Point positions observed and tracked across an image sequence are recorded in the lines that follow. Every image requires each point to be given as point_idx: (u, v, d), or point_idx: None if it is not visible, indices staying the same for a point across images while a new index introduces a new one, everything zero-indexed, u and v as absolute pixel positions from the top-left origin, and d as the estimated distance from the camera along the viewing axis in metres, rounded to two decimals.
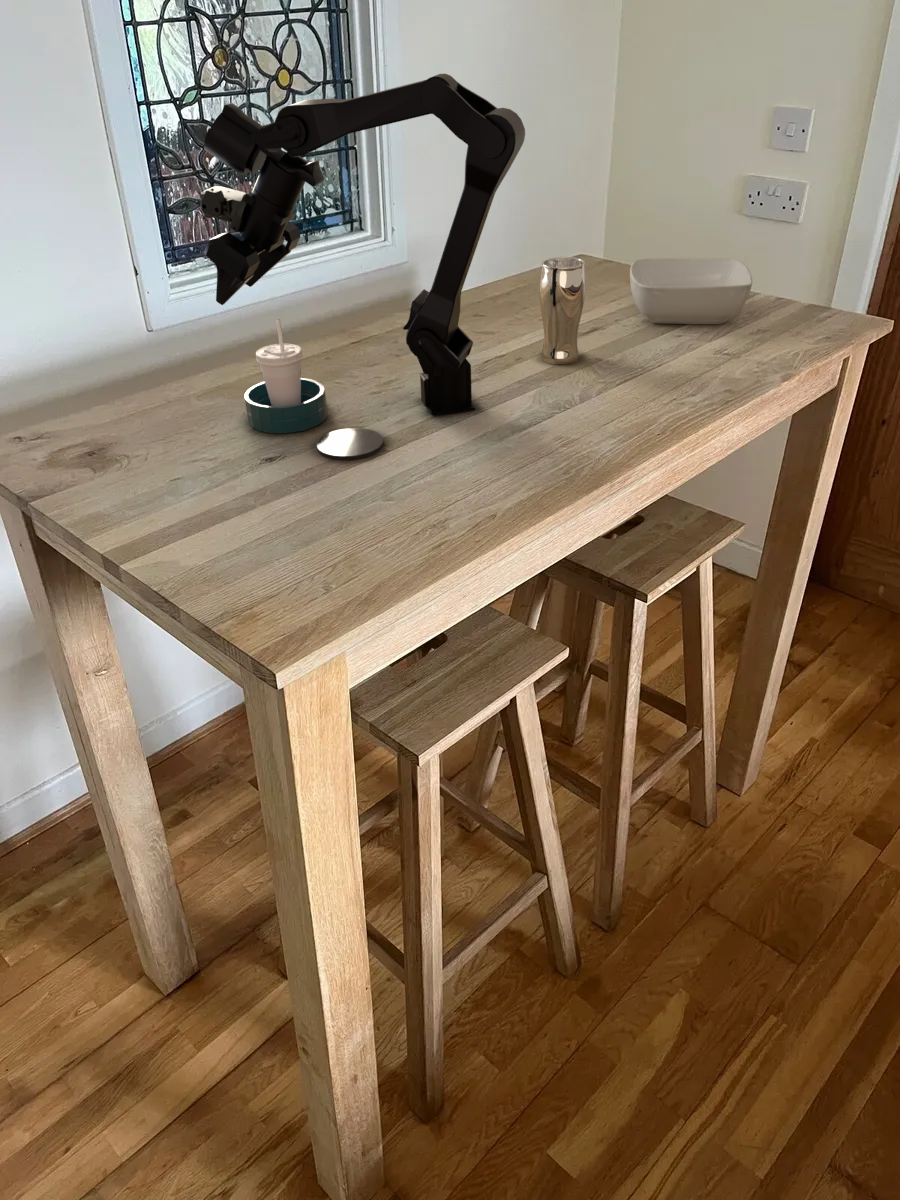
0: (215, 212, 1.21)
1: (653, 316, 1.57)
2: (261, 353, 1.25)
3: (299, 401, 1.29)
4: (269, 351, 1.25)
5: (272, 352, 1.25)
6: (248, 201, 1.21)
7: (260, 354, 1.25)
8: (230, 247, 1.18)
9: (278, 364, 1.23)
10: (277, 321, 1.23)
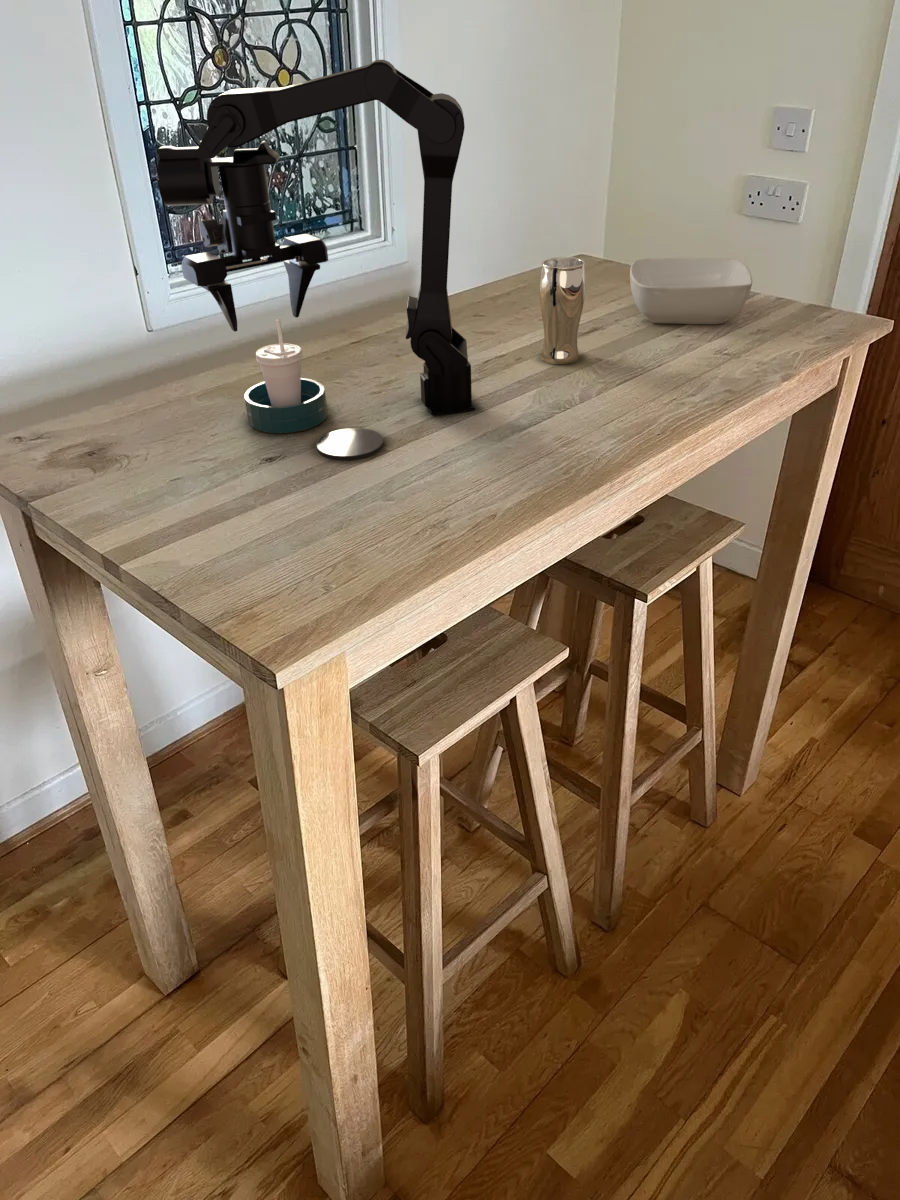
0: (208, 240, 1.21)
1: (653, 316, 1.57)
2: (261, 353, 1.25)
3: (299, 401, 1.29)
4: (269, 351, 1.25)
5: (272, 352, 1.25)
6: (225, 216, 1.18)
7: (260, 354, 1.25)
8: (190, 259, 1.16)
9: (278, 364, 1.23)
10: (277, 321, 1.23)
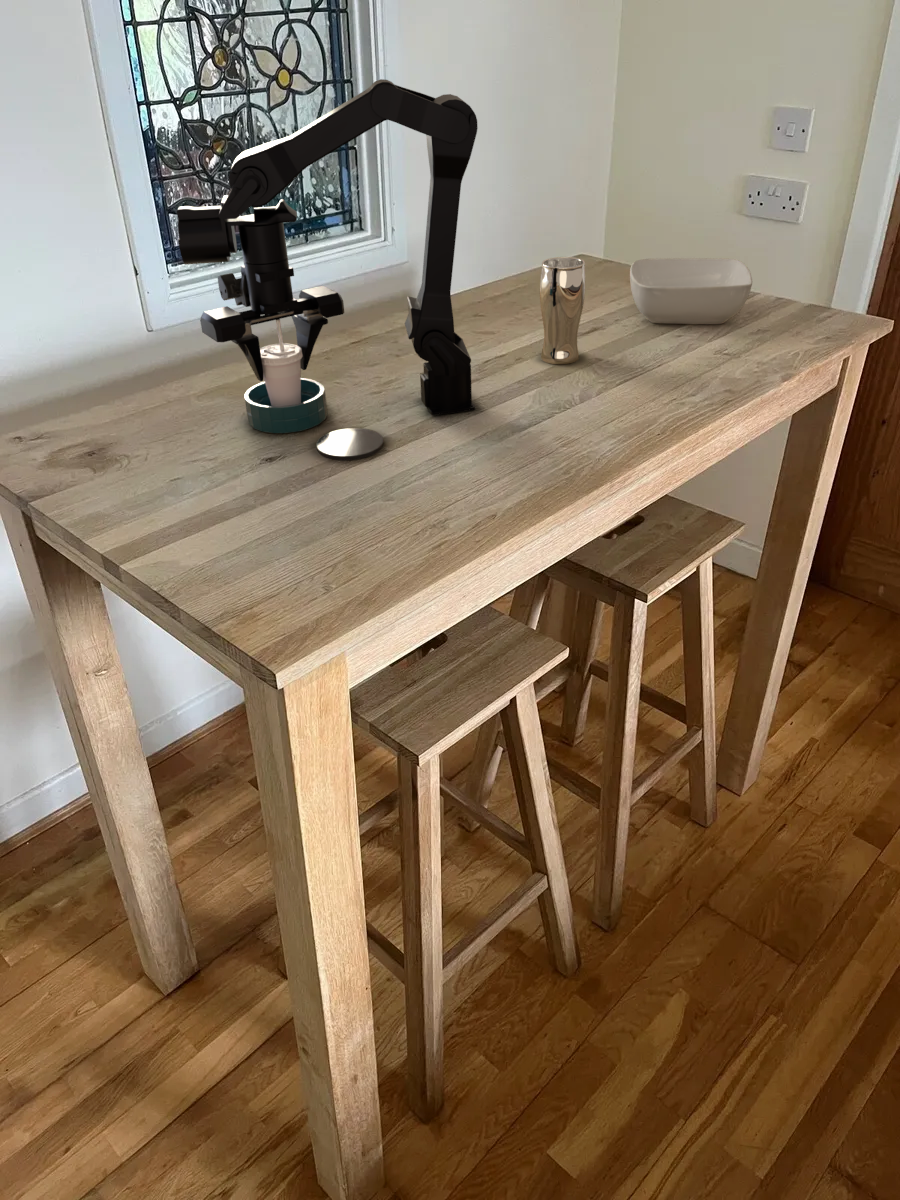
0: (226, 294, 1.23)
1: (653, 316, 1.57)
2: (261, 353, 1.25)
3: (299, 401, 1.29)
4: (269, 351, 1.25)
5: (272, 352, 1.25)
6: (243, 272, 1.20)
7: None
8: (209, 315, 1.18)
9: (278, 364, 1.23)
10: (277, 321, 1.23)
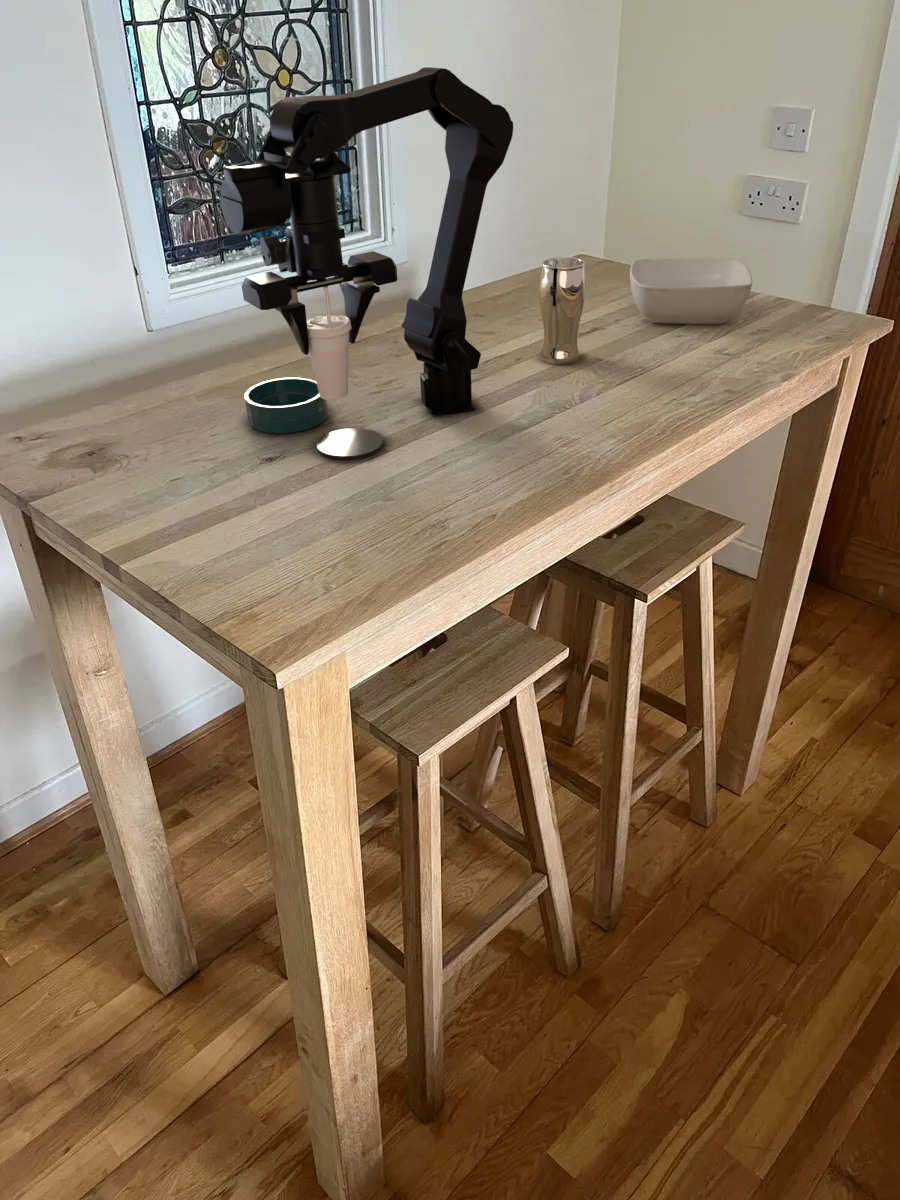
0: (269, 258, 1.12)
1: (653, 316, 1.57)
2: None
3: (346, 377, 1.18)
4: (315, 322, 1.15)
5: (318, 323, 1.14)
6: (289, 234, 1.09)
7: None
8: (252, 280, 1.07)
9: (325, 336, 1.13)
10: (325, 288, 1.12)
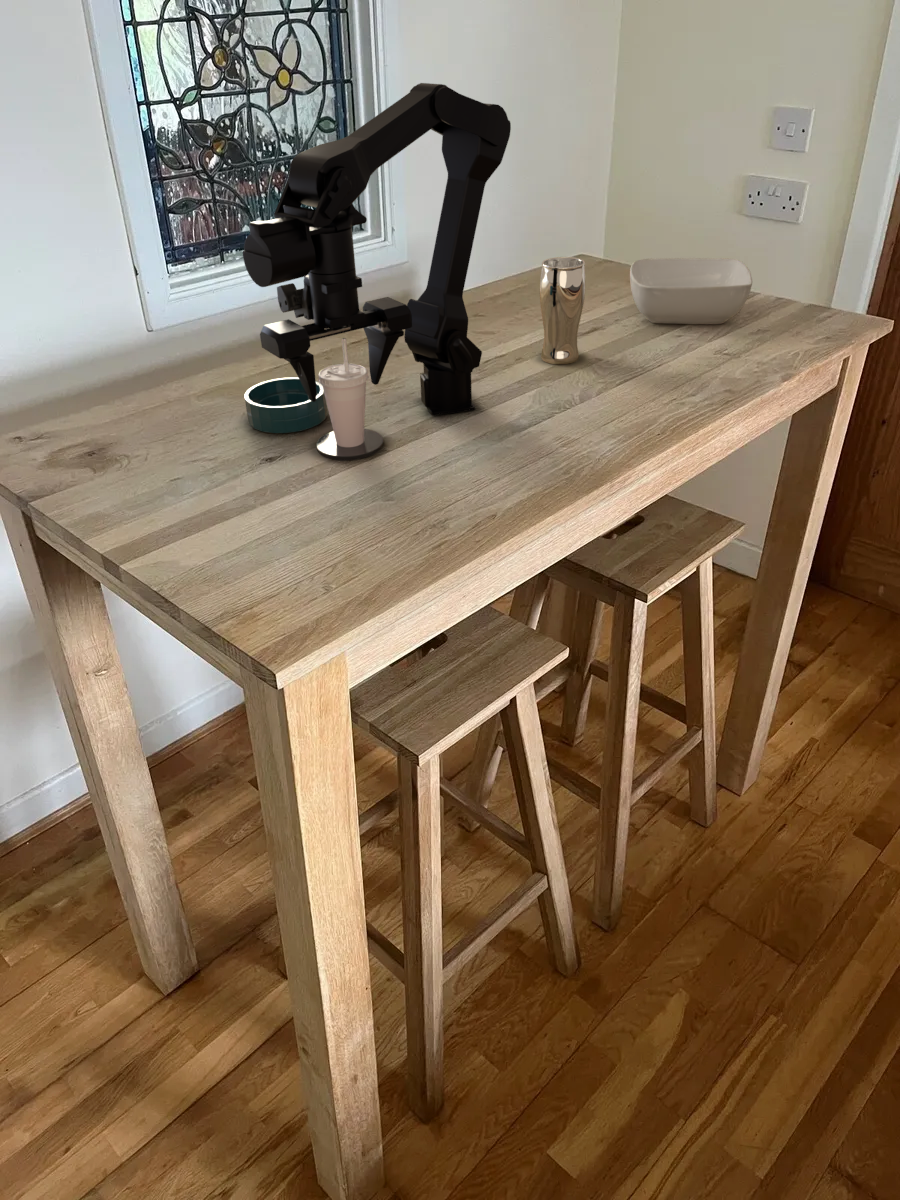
0: (286, 306, 1.14)
1: (653, 316, 1.57)
2: (324, 374, 1.16)
3: (363, 425, 1.20)
4: (333, 372, 1.17)
5: (336, 373, 1.16)
6: (307, 282, 1.11)
7: (323, 375, 1.16)
8: (271, 329, 1.09)
9: (343, 387, 1.15)
10: (343, 340, 1.14)
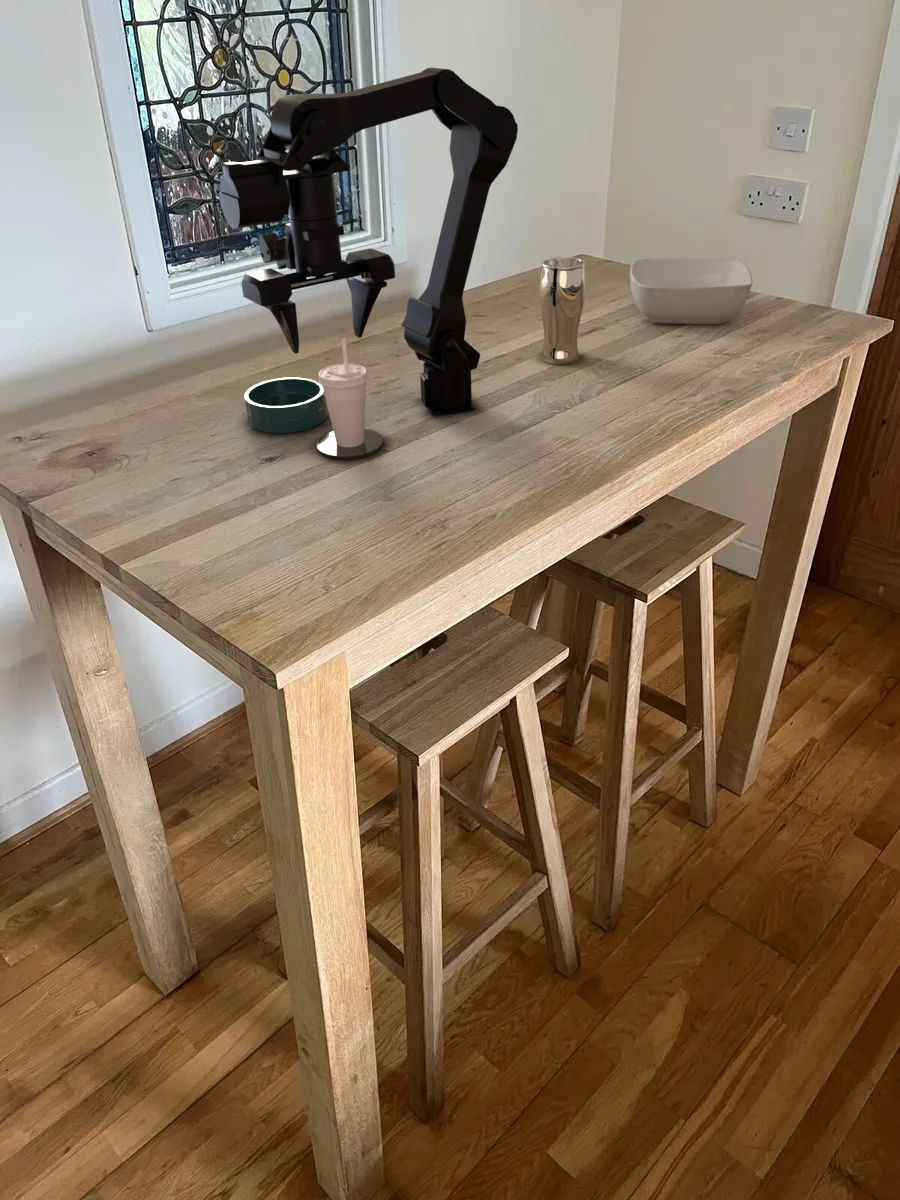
0: (268, 255, 1.13)
1: (653, 316, 1.57)
2: (324, 374, 1.16)
3: (363, 425, 1.20)
4: (333, 372, 1.17)
5: (336, 373, 1.16)
6: (288, 231, 1.10)
7: (323, 375, 1.16)
8: (252, 277, 1.08)
9: (343, 387, 1.15)
10: (343, 340, 1.14)
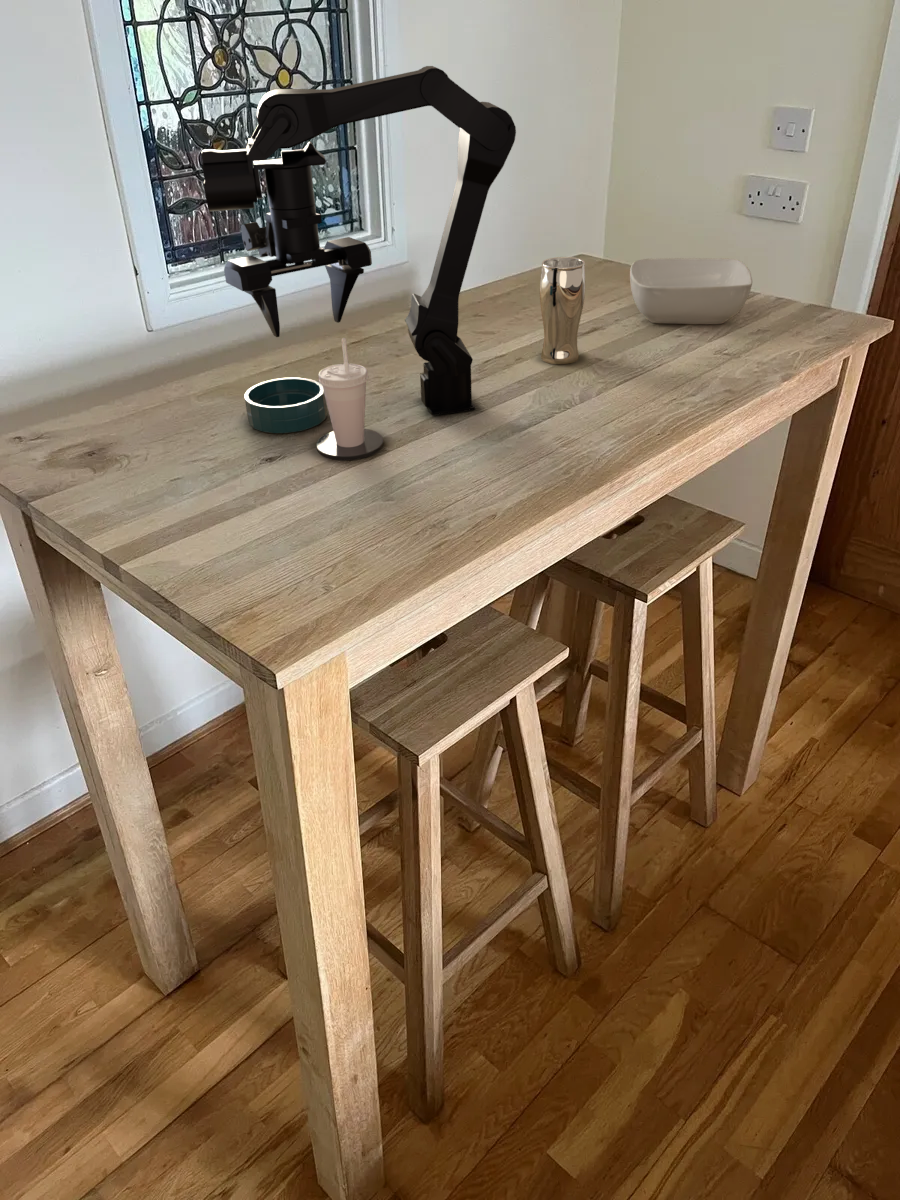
0: (250, 243, 1.18)
1: (653, 316, 1.57)
2: (324, 374, 1.16)
3: (363, 425, 1.20)
4: (333, 372, 1.17)
5: (336, 373, 1.16)
6: (269, 220, 1.16)
7: (323, 375, 1.16)
8: (234, 263, 1.13)
9: (343, 387, 1.15)
10: (343, 340, 1.14)
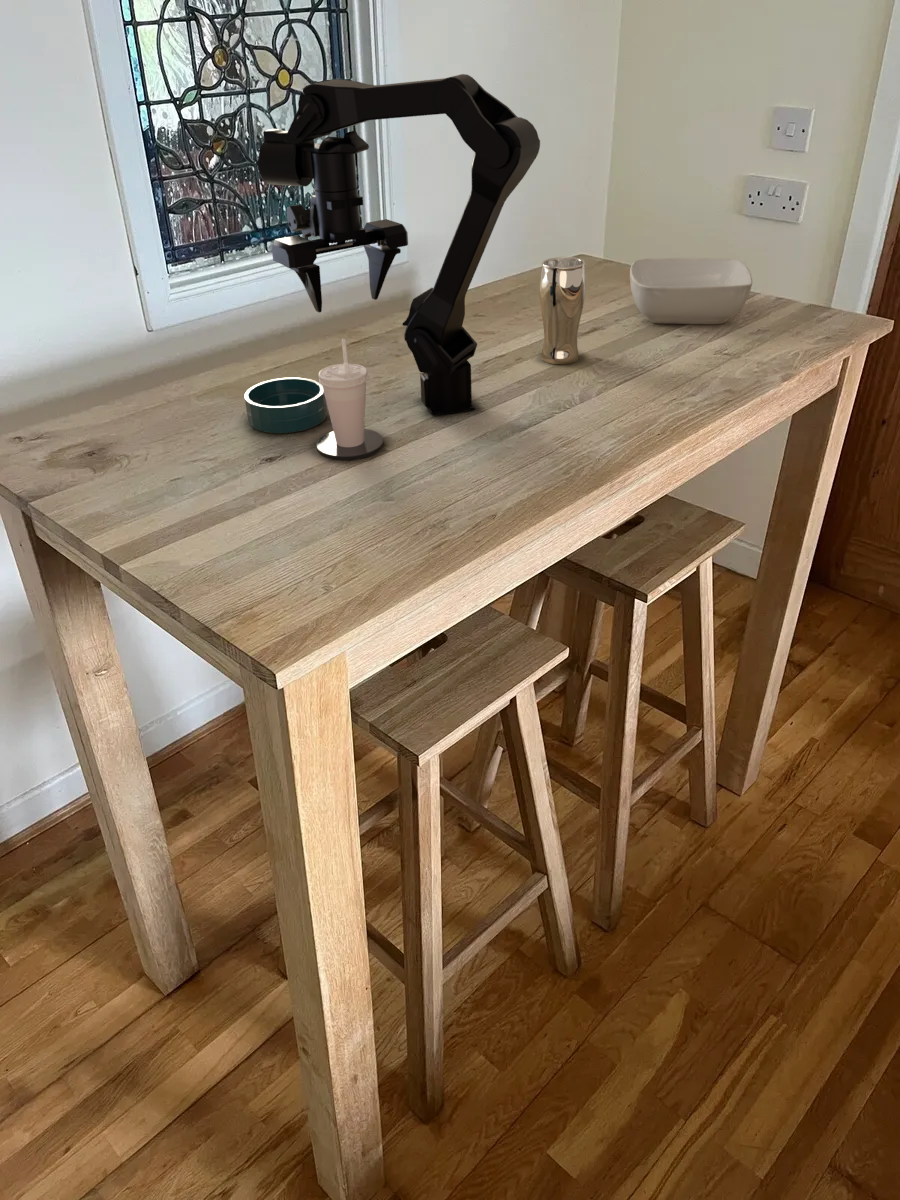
0: (295, 224, 1.27)
1: (653, 316, 1.57)
2: (324, 374, 1.16)
3: (363, 425, 1.20)
4: (333, 372, 1.17)
5: (336, 373, 1.16)
6: (313, 202, 1.24)
7: (323, 375, 1.16)
8: (282, 242, 1.22)
9: (343, 387, 1.15)
10: (343, 340, 1.14)
